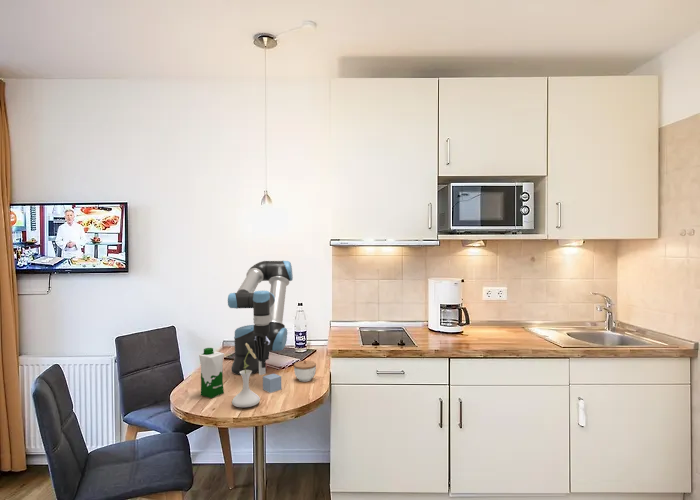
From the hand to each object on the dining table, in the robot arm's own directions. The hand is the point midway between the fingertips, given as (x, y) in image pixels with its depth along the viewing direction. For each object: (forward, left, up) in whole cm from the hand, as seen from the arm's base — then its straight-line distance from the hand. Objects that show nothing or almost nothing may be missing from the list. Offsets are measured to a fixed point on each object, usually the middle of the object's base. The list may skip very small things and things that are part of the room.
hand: (262, 374), depth 193 cm
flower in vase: (+14, -17, -6) cm, 23 cm away
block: (+8, 0, -5) cm, 9 cm away
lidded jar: (+8, +19, -6) cm, 21 cm away
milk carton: (-6, -22, -6) cm, 23 cm away
